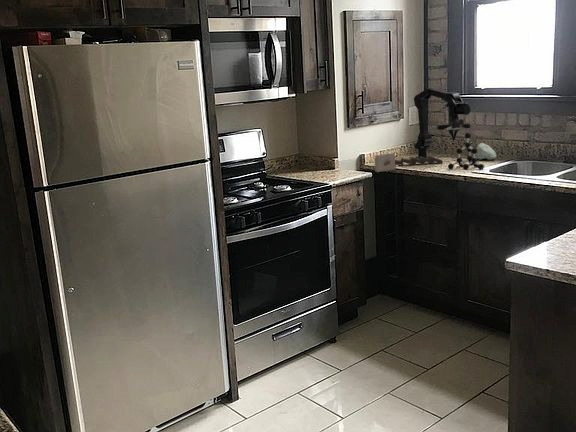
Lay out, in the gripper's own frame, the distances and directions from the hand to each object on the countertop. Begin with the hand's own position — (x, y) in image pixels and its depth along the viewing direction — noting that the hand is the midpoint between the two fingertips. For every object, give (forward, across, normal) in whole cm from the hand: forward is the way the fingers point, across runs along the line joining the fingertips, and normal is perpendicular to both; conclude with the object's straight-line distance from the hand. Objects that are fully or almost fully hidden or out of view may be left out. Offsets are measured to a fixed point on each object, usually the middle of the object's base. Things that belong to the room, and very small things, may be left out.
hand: (453, 140), depth 374 cm
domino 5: (+12, -13, -2) cm, 17 cm away
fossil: (+13, -43, -16) cm, 47 cm away
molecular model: (+13, +4, -20) cm, 24 cm away
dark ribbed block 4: (+12, -23, -2) cm, 26 cm away
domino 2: (+11, -31, -2) cm, 33 cm away
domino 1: (+12, -34, -2) cm, 36 cm away
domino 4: (+12, -18, -2) cm, 22 cm away
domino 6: (+12, -8, -2) cm, 14 cm away
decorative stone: (+13, +19, 0) cm, 23 cm away
